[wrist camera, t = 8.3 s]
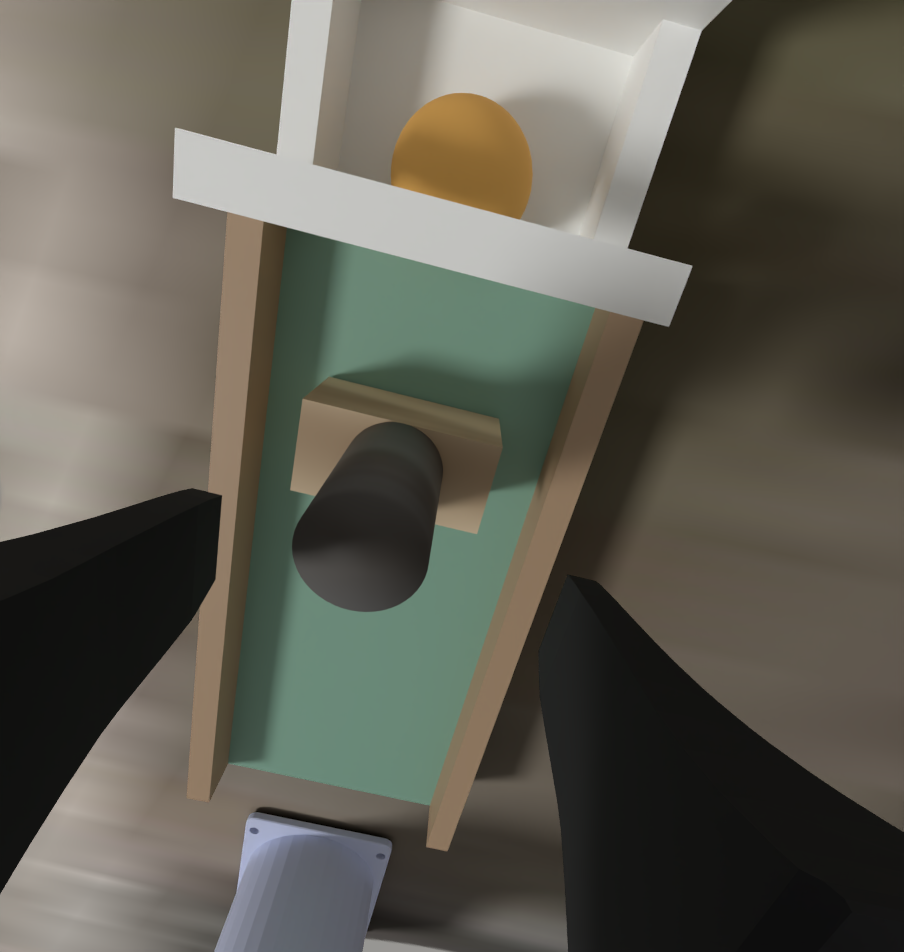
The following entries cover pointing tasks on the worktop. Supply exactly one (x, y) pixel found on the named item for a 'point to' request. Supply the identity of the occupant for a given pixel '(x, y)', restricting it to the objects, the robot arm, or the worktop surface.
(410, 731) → the pitch
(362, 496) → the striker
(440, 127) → the ball
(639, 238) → the worktop surface
